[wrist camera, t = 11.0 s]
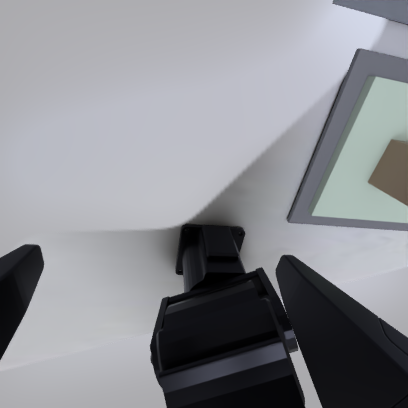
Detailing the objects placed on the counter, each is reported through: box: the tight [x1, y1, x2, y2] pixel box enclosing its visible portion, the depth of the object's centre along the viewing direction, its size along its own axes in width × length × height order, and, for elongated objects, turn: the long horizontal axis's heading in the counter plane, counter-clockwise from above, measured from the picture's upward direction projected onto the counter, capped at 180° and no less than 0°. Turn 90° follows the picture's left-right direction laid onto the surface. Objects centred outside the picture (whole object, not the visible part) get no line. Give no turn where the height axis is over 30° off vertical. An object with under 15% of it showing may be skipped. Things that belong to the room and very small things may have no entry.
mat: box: [287, 49, 408, 231], centre depth 22 cm, size 15×15×1 cm
